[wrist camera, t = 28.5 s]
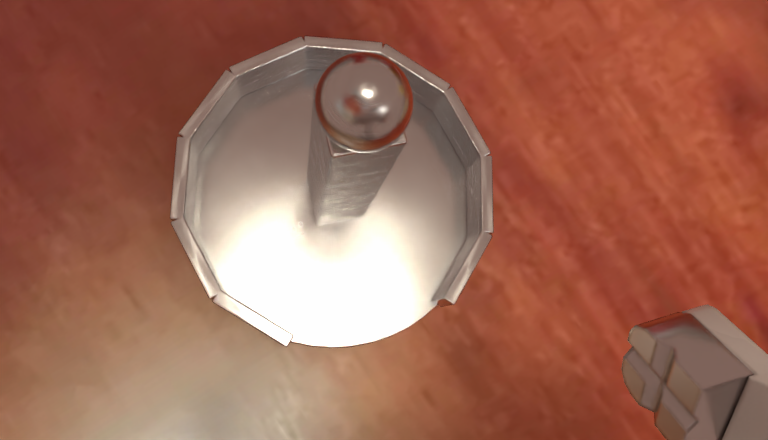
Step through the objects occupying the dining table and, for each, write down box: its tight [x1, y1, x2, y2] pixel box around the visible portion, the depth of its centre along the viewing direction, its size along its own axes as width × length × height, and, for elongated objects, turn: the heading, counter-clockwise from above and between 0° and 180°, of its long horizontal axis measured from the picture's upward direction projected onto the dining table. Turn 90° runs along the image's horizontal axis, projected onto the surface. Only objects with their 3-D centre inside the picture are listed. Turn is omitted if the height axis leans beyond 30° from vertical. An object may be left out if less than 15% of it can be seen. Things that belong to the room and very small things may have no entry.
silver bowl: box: [170, 36, 493, 348], centre depth 19 cm, size 12×12×12 cm
